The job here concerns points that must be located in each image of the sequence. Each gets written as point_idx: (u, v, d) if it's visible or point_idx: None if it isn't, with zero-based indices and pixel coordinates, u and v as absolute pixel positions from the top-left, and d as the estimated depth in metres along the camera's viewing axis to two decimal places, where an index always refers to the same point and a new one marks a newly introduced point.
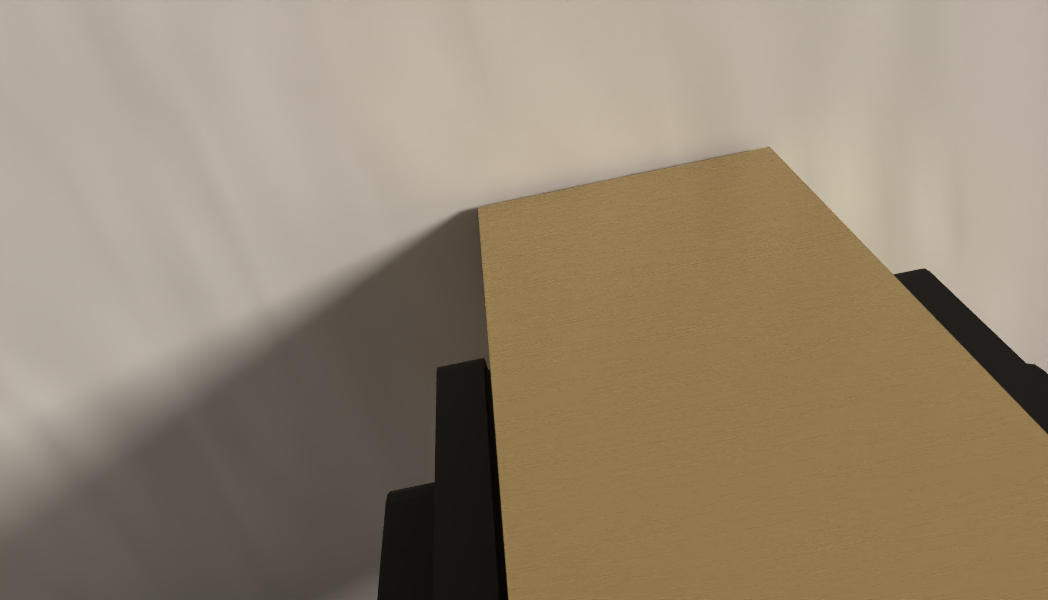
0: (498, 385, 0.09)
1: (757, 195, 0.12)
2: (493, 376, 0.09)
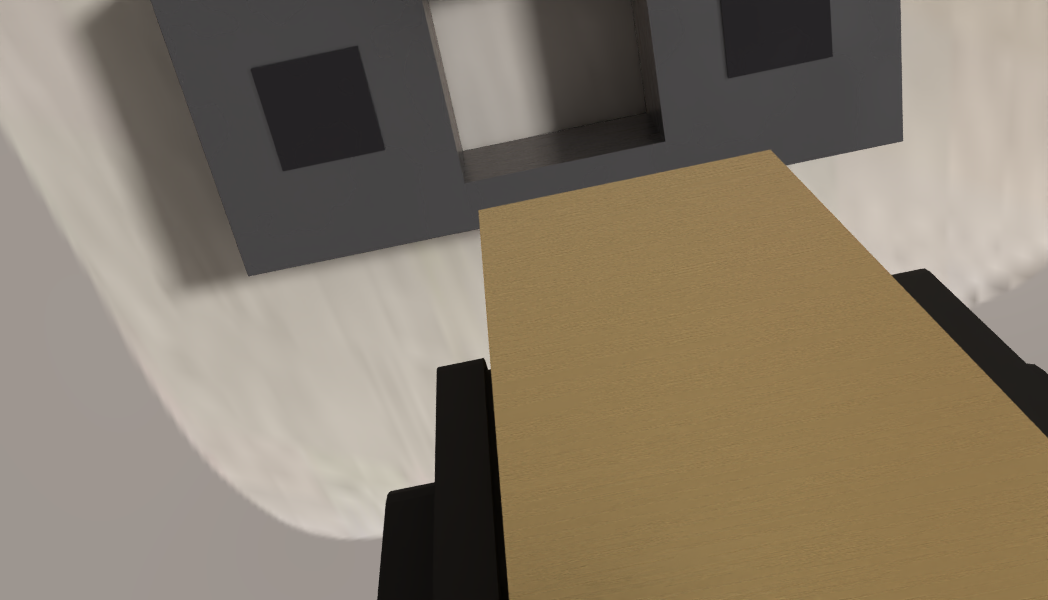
0: (499, 390, 0.09)
1: (758, 198, 0.12)
2: (494, 380, 0.09)
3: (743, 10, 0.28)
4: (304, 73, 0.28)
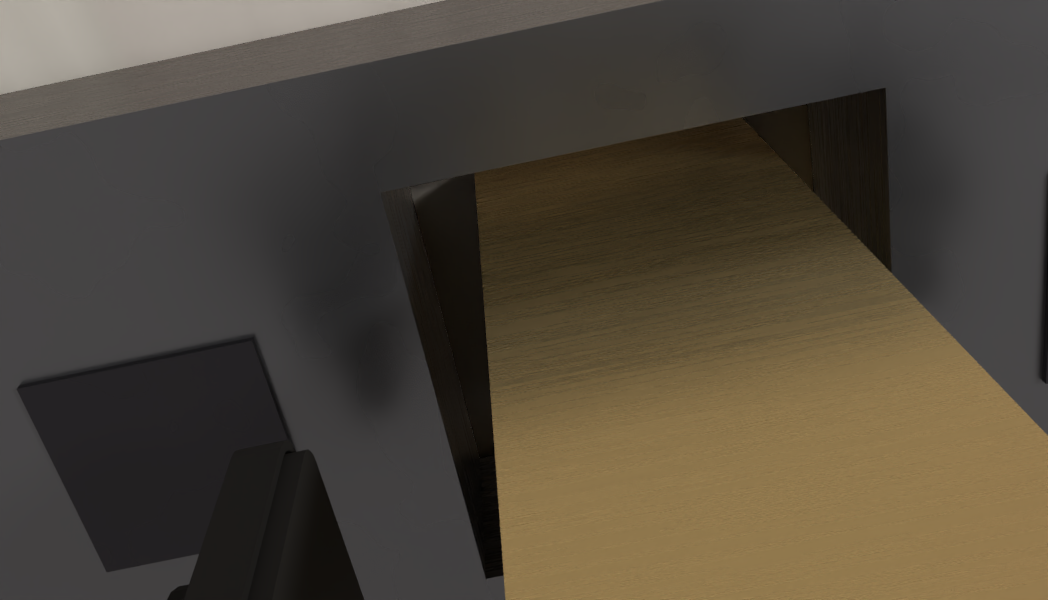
0: (490, 312, 0.11)
1: (724, 155, 0.13)
2: (486, 305, 0.11)
3: None
4: (139, 390, 0.13)
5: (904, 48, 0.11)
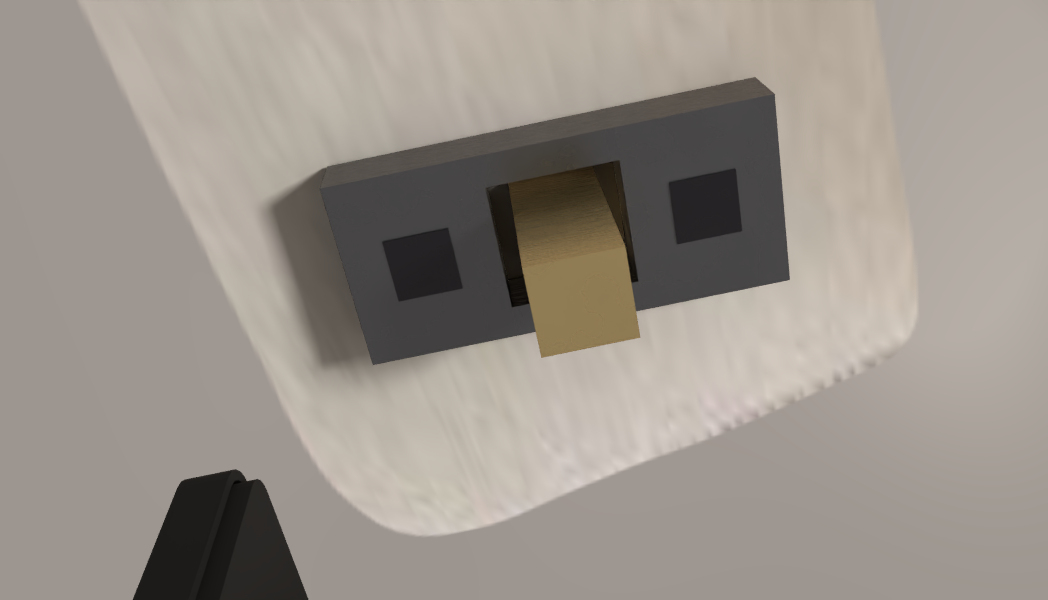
0: (515, 217, 0.43)
1: (582, 177, 0.46)
2: (514, 216, 0.43)
3: (685, 205, 0.45)
4: (414, 243, 0.45)
5: (623, 149, 0.44)
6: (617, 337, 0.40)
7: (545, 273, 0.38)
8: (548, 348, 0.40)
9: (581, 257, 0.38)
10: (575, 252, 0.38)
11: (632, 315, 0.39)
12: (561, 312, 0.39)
